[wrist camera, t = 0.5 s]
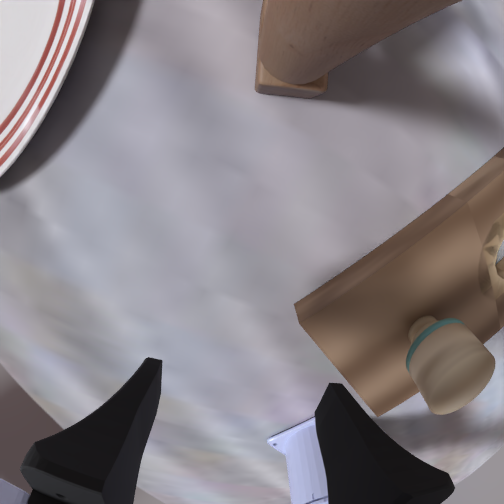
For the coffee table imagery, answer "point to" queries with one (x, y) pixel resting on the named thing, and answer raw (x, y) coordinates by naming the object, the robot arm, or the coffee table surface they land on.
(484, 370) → the beige cylinder
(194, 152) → the coffee table surface
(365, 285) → the board
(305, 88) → the wooden block
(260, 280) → the coffee table surface
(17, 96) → the dinner plate
